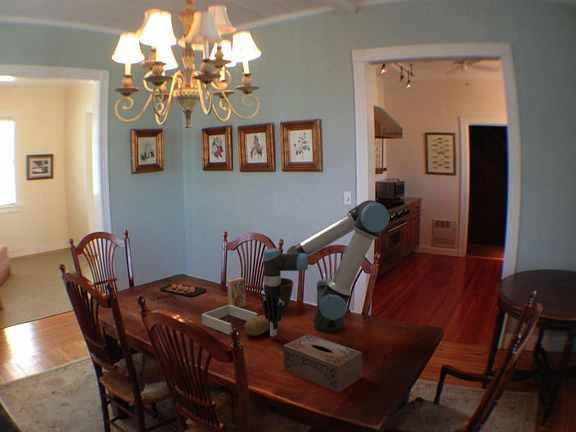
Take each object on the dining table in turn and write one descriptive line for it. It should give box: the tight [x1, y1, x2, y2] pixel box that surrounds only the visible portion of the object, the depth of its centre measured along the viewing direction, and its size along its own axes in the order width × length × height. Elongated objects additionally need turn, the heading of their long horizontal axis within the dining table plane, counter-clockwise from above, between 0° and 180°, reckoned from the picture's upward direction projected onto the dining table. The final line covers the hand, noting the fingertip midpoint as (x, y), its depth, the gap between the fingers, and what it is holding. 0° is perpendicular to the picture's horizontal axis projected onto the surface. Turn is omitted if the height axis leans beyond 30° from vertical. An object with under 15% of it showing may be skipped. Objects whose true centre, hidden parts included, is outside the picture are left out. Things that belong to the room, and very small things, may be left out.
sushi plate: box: [152, 282, 208, 300], centre depth 263 cm, size 29×30×4 cm
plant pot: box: [280, 277, 294, 314], centre depth 231 cm, size 15×15×16 cm
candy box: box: [227, 277, 247, 308], centre depth 239 cm, size 9×4×15 cm, turn 129°
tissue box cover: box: [282, 333, 363, 394], centre depth 165 cm, size 26×14×10 cm, turn 47°
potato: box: [244, 314, 269, 337], centre depth 202 cm, size 10×14×8 cm
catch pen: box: [200, 304, 259, 336], centre depth 215 cm, size 21×18×5 cm
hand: (273, 335), depth 196 cm, fingers closed
